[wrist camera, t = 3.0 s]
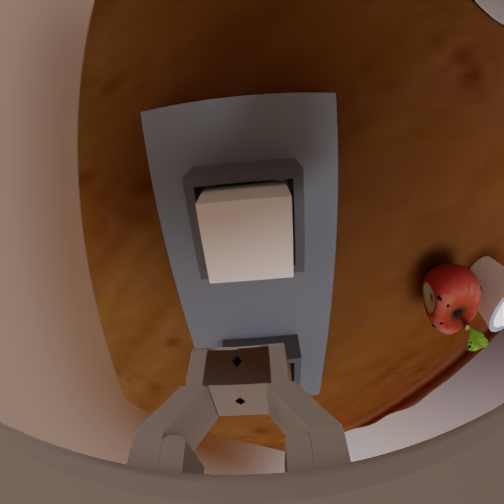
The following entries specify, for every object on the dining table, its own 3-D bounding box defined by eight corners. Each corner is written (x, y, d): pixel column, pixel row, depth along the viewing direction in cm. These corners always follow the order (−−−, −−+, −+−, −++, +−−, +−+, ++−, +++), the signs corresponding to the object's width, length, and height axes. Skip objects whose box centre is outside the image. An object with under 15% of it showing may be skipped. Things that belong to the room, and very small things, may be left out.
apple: (397, 292, 28) (438, 360, 19) (431, 239, 25) (488, 299, 16) (438, 306, 29) (477, 364, 21) (469, 261, 26) (518, 314, 18)
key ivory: (203, 188, 17) (195, 204, 15) (284, 180, 17) (291, 196, 15) (214, 258, 20) (209, 283, 17) (287, 252, 20) (293, 277, 17)
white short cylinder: (483, 297, 29) (509, 330, 23) (452, 297, 29) (480, 335, 23) (503, 253, 26) (535, 283, 20) (474, 249, 26) (509, 282, 19)
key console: (153, 110, 19) (122, 114, 14) (324, 94, 19) (350, 91, 14) (215, 383, 35) (212, 421, 29) (315, 376, 34) (322, 414, 29)
